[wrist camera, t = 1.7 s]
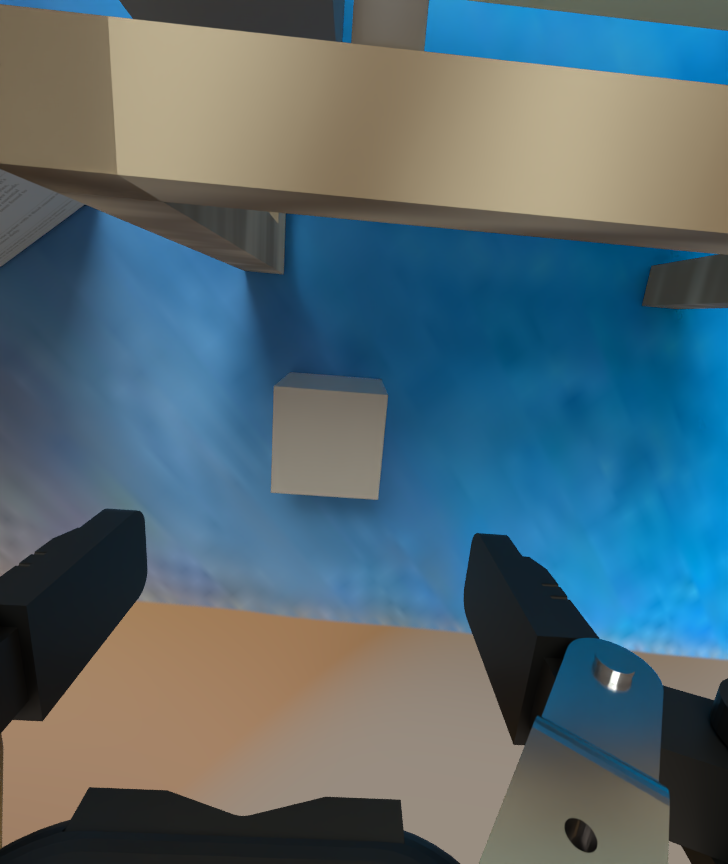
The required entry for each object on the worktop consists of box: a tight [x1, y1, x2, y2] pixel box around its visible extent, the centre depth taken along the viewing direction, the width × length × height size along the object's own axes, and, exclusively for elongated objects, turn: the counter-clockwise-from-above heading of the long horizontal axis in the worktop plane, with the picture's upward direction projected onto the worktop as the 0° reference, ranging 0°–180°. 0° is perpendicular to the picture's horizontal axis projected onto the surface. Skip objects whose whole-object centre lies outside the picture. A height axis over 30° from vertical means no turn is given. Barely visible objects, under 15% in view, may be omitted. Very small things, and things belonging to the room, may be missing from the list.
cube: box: [271, 372, 388, 500], centre depth 22 cm, size 5×5×5 cm
